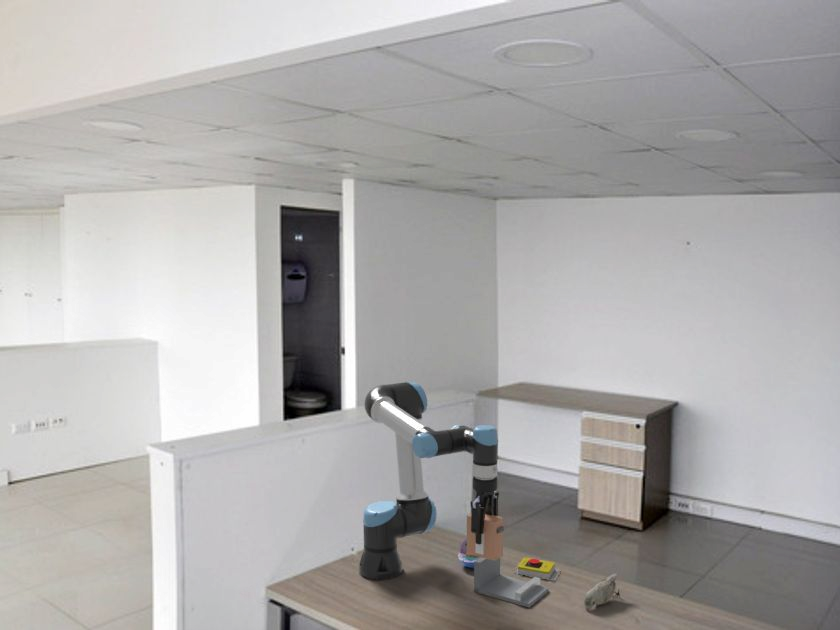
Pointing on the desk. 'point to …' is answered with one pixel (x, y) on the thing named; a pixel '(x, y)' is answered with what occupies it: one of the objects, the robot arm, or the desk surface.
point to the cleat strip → (527, 589)
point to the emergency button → (538, 569)
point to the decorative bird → (601, 592)
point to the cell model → (466, 555)
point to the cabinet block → (487, 537)
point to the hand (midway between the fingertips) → (484, 550)
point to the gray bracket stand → (501, 583)
